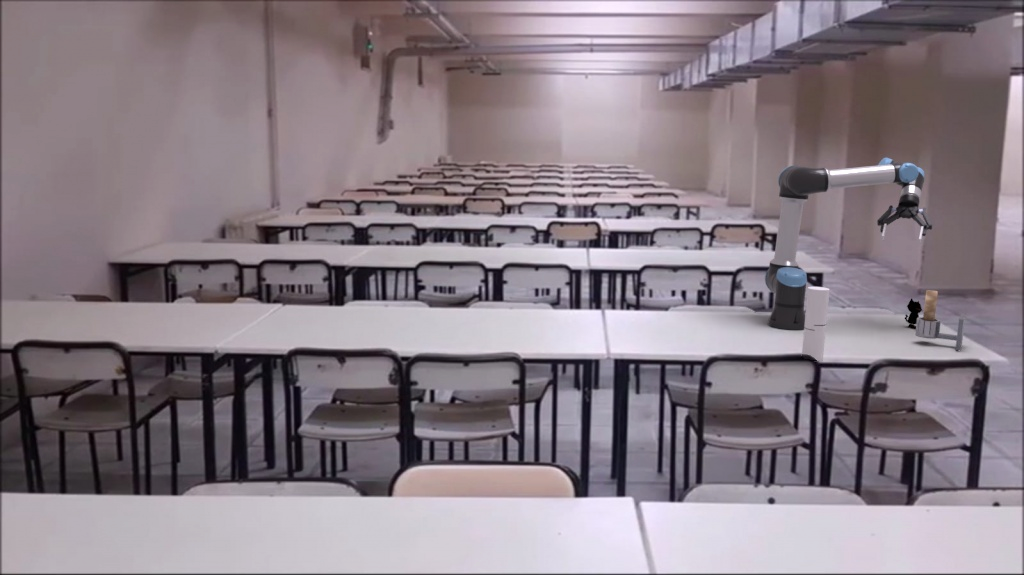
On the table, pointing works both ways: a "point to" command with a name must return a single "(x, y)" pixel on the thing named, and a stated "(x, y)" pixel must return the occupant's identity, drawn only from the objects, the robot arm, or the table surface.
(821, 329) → the cylindrical container
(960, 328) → the cup bracket
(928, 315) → the brown wooden block
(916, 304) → the cat figurine
